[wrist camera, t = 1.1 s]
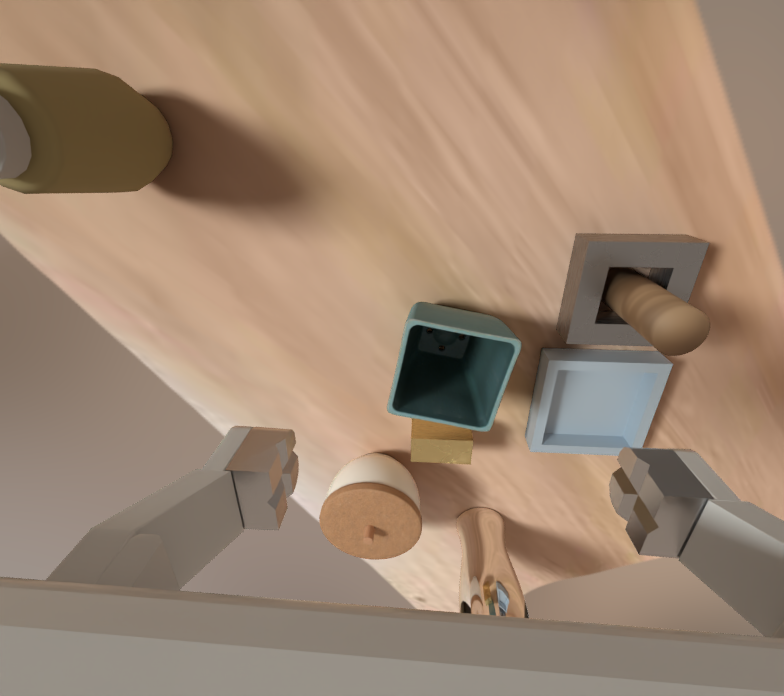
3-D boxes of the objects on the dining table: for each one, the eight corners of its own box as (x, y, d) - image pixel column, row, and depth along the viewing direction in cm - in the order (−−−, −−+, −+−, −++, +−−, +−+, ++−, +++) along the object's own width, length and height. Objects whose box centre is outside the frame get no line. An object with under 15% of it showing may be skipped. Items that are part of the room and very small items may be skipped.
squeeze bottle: (98, 52, 30) (-265, -46, 14) (199, 113, 32) (-28, 85, 16) (81, 155, 34) (-225, 168, 18) (173, 205, 35) (-34, 260, 19)
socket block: (576, 233, 34) (589, 241, 31) (686, 234, 33) (709, 242, 31) (556, 329, 38) (566, 343, 35) (654, 332, 37) (671, 346, 35)
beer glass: (469, 497, 49) (486, 630, 36) (518, 515, 50) (552, 652, 37) (443, 530, 52) (449, 664, 39) (489, 547, 53) (512, 684, 40)
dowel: (601, 265, 35) (662, 307, 26) (642, 266, 35) (718, 309, 26) (592, 303, 37) (646, 354, 28) (631, 303, 36) (699, 356, 27)
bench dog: (412, 408, 43) (411, 438, 39) (468, 410, 43) (473, 441, 38) (411, 429, 45) (410, 461, 40) (465, 432, 44) (470, 464, 40)
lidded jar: (440, 468, 47) (444, 538, 39) (387, 515, 51) (380, 587, 43) (366, 421, 45) (353, 486, 36) (317, 475, 49) (295, 543, 41)
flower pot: (409, 280, 37) (406, 318, 29) (502, 298, 37) (524, 341, 29) (392, 361, 41) (385, 414, 33) (476, 377, 41) (489, 433, 33)
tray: (541, 347, 39) (549, 360, 37) (658, 351, 38) (673, 364, 36) (524, 436, 44) (530, 451, 42) (627, 440, 43) (638, 456, 41)
